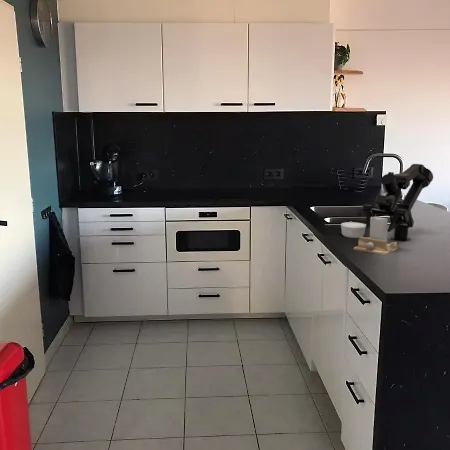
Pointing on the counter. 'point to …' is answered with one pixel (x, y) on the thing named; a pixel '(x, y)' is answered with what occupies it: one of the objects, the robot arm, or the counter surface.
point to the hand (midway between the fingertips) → (377, 229)
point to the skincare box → (378, 228)
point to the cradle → (375, 246)
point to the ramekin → (353, 229)
